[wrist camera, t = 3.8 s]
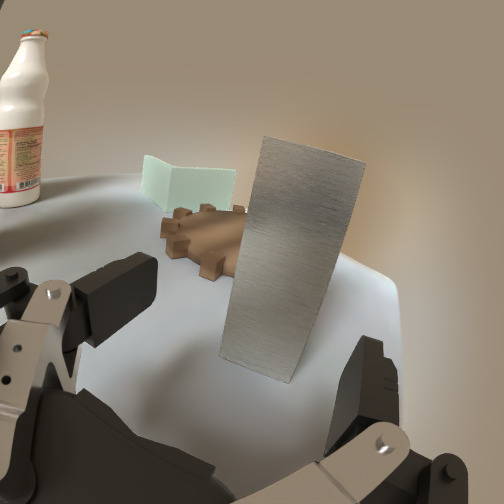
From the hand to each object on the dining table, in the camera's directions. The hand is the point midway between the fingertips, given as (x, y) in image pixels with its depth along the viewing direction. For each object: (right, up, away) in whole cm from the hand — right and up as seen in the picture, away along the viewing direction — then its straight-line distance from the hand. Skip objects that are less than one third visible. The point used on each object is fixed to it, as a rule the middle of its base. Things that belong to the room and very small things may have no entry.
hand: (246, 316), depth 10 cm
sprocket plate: (-1, +3, +27) cm, 27 cm away
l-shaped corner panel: (-12, +11, +41) cm, 44 cm away
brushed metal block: (+1, -5, +10) cm, 11 cm away
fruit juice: (-39, +11, +26) cm, 48 cm away
